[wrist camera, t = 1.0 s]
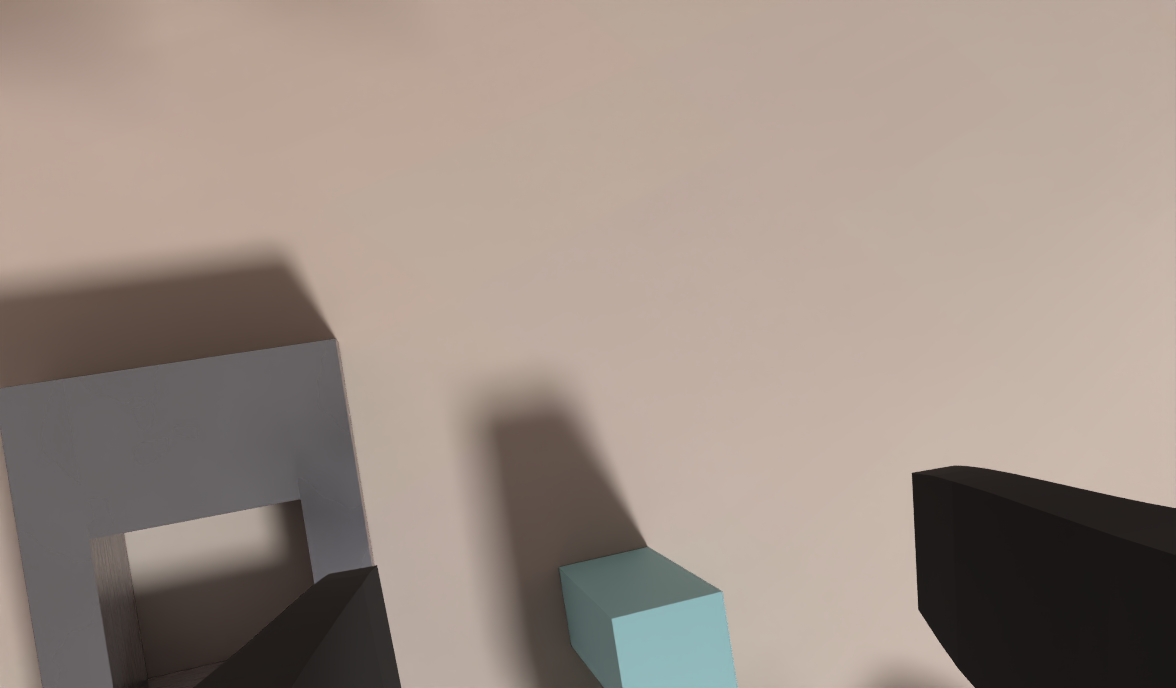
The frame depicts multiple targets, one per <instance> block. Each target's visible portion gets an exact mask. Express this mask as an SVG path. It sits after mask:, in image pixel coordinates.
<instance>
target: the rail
mask: <svg viewBox="0 0 1176 688" xmlns="http://www.w3.org/2000/svg"><path fill="white" fill-rule="evenodd" d="M0 429H1V435H2V441H3V448H4V454H5V460H6V466H7V472H8V478H9V484H10V491H11V497H12V503H13V509H14V515H15V521H16V527H17V533H18V540H19V546H20V552H21V558H22V564H23V570H24V576H25V583H26V589H27V595H28V601H29V607H30V613H31V619H32V625H33V632H34V638H35V644H36V650H37V656H38V662H39V668H40V674H41V681H42V687H43V688H193V687H194V686H196V685H197V684H198V683H199V682H201V681H202V680H203V679H204V678H206V677H207V676H208V675H209V674H211V673H212V672H213V671H214V670H216V669H217V668H218V667H219V666H220V665H222V664H223V663H224V662H225V661H223V662H218V663H214V664H210V665H206V666H201V667H197V668H193V669H188V670H184V671H180V672H175V673H171V674H167V675H162V676H158V677H154V678H150V679H148V678H147V672H146V666H145V660H144V654H143V647H142V641H141V635H140V629H139V623H138V617H137V610H136V604H135V598H134V592H133V586H132V580H131V574H130V567H129V561H128V555H127V549H126V543H125V537H124V533H126V532H132V531H137V530H142V529H147V528H153V527H158V526H163V525H168V524H173V523H179V522H184V521H189V520H194V519H200V518H205V517H210V516H215V515H220V514H226V513H231V512H236V511H241V510H247V509H252V508H257V507H262V506H267V505H273V504H278V503H283V502H288V501H294V500H299V499H301V505H302V511H303V517H304V523H305V530H306V536H307V542H308V548H309V554H310V561H311V567H312V573H313V579H314V584H315V583H317V582H318V581H319V580H320V579H322V578H323V577H325V576H326V575H328V574H330V573H336V572H342V571H347V570H353V569H359V568H365V567H371V566H374V560H373V554H372V548H371V542H370V535H369V529H368V523H367V517H366V511H365V504H364V498H363V492H362V486H361V480H360V473H359V467H358V461H357V455H356V448H355V442H354V436H353V430H352V424H351V417H350V411H349V405H348V399H347V393H346V386H345V380H344V374H343V368H342V362H341V355H340V349H339V343H338V341H337V340H336V339H329V340H322V341H316V342H309V343H302V344H295V345H289V346H282V347H275V348H268V349H262V350H255V351H248V352H241V353H234V354H228V355H221V356H214V357H207V358H201V359H194V360H187V361H180V362H174V363H167V364H160V365H153V366H147V367H140V368H133V369H126V370H119V371H113V372H106V373H99V374H92V375H86V376H79V377H72V378H65V379H59V380H52V381H45V382H38V383H32V384H25V385H18V386H11V387H4V388H0Z"/></svg>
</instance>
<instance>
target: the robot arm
mask: <svg viewBox="0 0 1176 688" xmlns="http://www.w3.org/2000/svg"><path fill="white" fill-rule="evenodd" d="M912 484H913V505H914V527H915V548H916V569H917V590H918V610H919V611H920V613H921V614H922V616H923V617H924V619H925V620H926V622H927V623H928V625H929V627H930V628H931V630H932V631H933V633H934V634H935V636H936V637H937V639H938V640H939V642H940V643H941V645H942V646H943V648H944V649H945V650H946V652H947V653H948V655H949V656H950V658H951V659H952V660H953V662H954V663H955V665H956V666H957V667H958V669H959V670H960V671H961V672H962V673H963V675H964V676H965V677H966V678H967V679H968V680H969V681H970V683H971V684H972V685H973V686H974V687H975V688H1176V508H1171V507H1166V506H1160V505H1155V504H1150V503H1145V502H1140V501H1135V500H1130V499H1125V498H1120V497H1116V496H1111V495H1106V494H1102V493H1097V492H1093V491H1088V490H1084V489H1079V488H1075V487H1071V486H1066V485H1062V484H1057V483H1053V482H1048V481H1044V480H1039V479H1035V478H1030V477H1026V476H1021V475H1017V474H1012V473H1007V472H1001V471H996V470H991V469H985V468H978V467H970V466H949V467H944V468H938V469H932V470H926V471H920V472H915V473H912ZM193 688H401V684H400V679H399V674H398V669H397V664H396V659H395V654H394V649H393V644H392V639H391V633H390V628H389V623H388V618H387V613H386V608H385V603H384V598H383V593H382V588H381V583H380V578H379V573H378V568H377V565H376V566H371V567H365V568H359V569H353V570H347V571H342V572H336V573H330V574H328V575H326V576H325V577H323V578H322V579H320V580H319V581H318V582H317V583H315V584H314V585H313V586H312V587H311V588H309V589H308V590H307V591H306V592H305V593H304V594H302V595H301V596H300V597H299V598H298V599H297V600H296V601H295V602H293V603H292V604H291V605H290V606H289V607H288V608H287V609H286V610H285V611H283V612H282V613H281V614H280V615H279V616H278V617H277V618H276V619H274V620H273V621H272V622H271V623H270V624H269V625H268V626H267V627H265V628H264V629H263V630H262V631H261V632H260V633H259V634H257V635H256V636H255V637H254V638H253V639H252V640H251V641H250V642H248V643H247V644H246V645H245V646H244V647H243V648H242V649H240V650H239V651H238V652H237V653H235V654H234V655H233V656H232V657H230V658H229V659H228V660H227V661H225V662H224V663H223V664H222V665H220V666H219V667H218V668H217V669H216V670H214V671H213V672H212V673H211V674H209V675H208V676H207V677H206V678H204V679H203V680H202V681H201V682H199V683H198V684H197V685H196V686H194V687H193Z"/></svg>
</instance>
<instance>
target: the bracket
mask: <svg viewBox="0 0 1176 688" xmlns="http://www.w3.org/2000/svg"><path fill="white" fill-rule="evenodd" d="M559 572H560V579H561V585H562V591H563V597H564V604H565V610H566V616H567V622H568V629H569V635H570V641H571V646H572V647H573V648H574V650H575V651H576V652H577V654H578V655H579V656H580V658H581V659H582V660H583V661H584V663H585V664H586V665H587V667H588V668H589V669H590V670H591V672H592V673H593V674H594V676H595V677H596V678H597V680H598V681H599V682H600V683H601V685H602V686H603V687H604V688H738V686H737V680H736V674H735V667H734V661H733V655H732V648H731V642H730V636H729V630H728V623H727V617H726V611H725V604H724V598H723V592H722V591H721V590H719V589H718V588H716V587H714V586H713V585H711V584H709V583H708V582H706V581H704V580H703V579H701V578H699V577H698V576H696V575H694V574H693V573H691V572H689V571H688V570H686V569H684V568H683V567H681V566H679V565H678V564H676V563H674V562H673V561H671V560H669V559H668V558H666V557H664V556H663V555H661V554H659V553H658V552H656V551H654V550H653V549H651V548H649V547H645V548H641V549H636V550H632V551H627V552H623V553H619V554H614V555H610V556H605V557H601V558H597V559H592V560H588V561H583V562H579V563H575V564H570V565H566V566H561V567H559Z"/></svg>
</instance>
